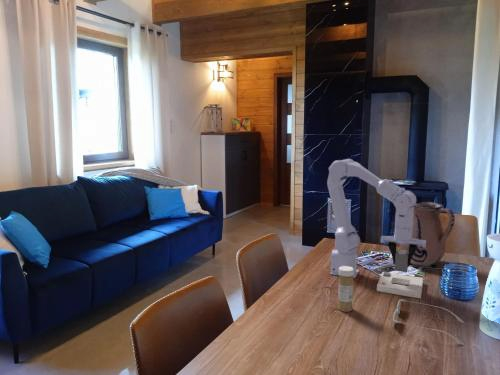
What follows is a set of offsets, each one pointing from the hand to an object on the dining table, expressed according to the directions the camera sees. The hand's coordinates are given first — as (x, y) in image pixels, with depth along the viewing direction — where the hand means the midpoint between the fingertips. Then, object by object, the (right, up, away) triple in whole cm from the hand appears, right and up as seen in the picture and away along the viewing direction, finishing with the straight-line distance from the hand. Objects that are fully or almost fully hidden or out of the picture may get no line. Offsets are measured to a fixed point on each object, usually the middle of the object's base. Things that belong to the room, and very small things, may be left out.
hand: (401, 264), depth 138 cm
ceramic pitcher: (+19, -5, +24) cm, 31 cm away
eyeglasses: (-2, -13, -25) cm, 28 cm away
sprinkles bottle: (-23, -11, -15) cm, 30 cm away
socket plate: (0, -8, +1) cm, 8 cm away
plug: (0, -2, 0) cm, 2 cm away
